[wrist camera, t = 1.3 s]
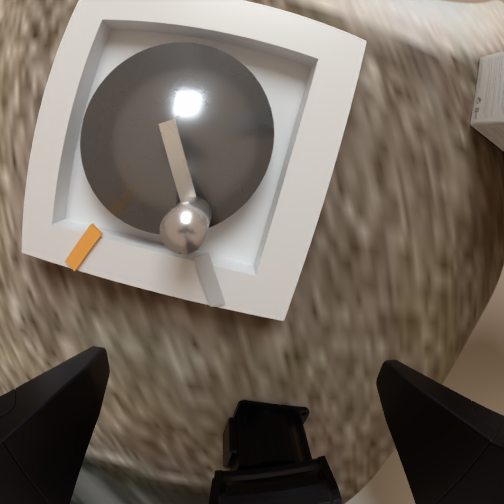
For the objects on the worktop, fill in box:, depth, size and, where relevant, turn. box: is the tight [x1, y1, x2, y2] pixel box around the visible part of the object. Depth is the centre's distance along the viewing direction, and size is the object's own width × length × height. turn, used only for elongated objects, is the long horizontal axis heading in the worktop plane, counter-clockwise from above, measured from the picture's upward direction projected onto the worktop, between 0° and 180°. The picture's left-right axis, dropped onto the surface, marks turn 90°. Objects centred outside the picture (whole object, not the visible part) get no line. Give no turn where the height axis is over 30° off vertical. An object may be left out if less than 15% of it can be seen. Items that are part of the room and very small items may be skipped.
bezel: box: [22, 0, 367, 321], centre depth 17 cm, size 18×18×3 cm
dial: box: [80, 42, 274, 254], centre depth 14 cm, size 11×11×6 cm
